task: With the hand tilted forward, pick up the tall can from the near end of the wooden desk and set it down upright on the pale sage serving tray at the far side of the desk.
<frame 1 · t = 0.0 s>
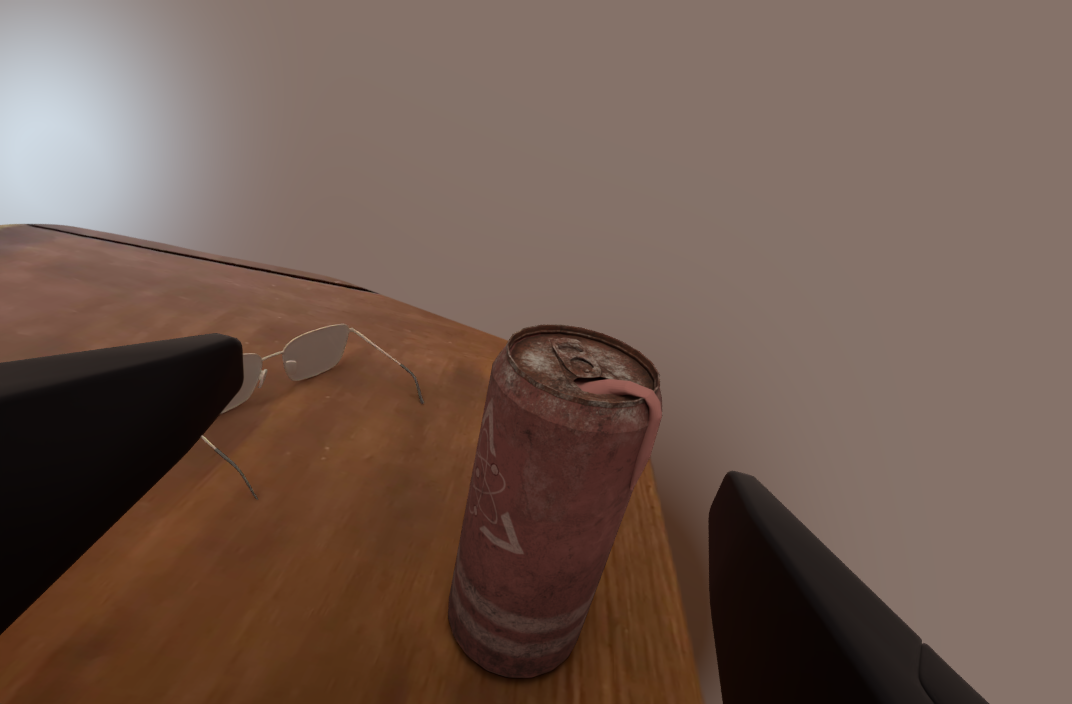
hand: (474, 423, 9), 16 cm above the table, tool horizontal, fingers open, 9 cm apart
eyeglasses: (310, 420, 34), on the table
can: (514, 623, 24), on the table
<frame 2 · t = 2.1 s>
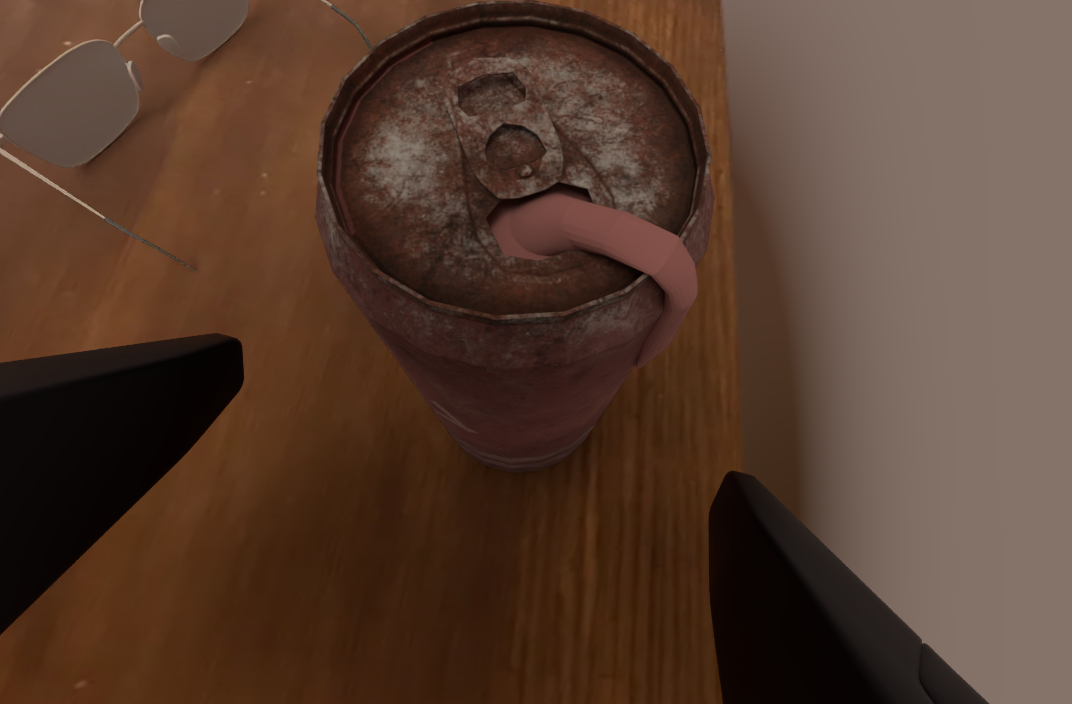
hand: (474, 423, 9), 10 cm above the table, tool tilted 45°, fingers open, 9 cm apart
eyeglasses: (234, 129, 24), on the table
can: (523, 398, 20), on the table
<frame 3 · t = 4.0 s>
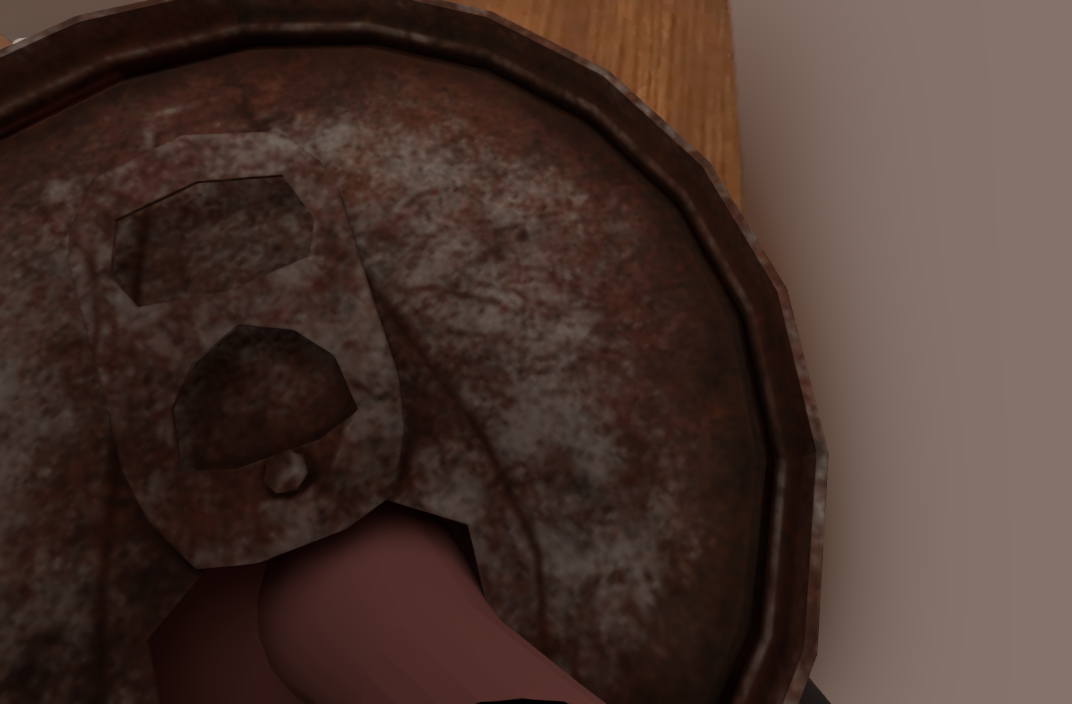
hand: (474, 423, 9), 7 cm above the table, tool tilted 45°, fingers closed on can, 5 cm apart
eyeglasses: (124, 155, 20), on the table
can: (475, 513, 16), on the table, touching gripper
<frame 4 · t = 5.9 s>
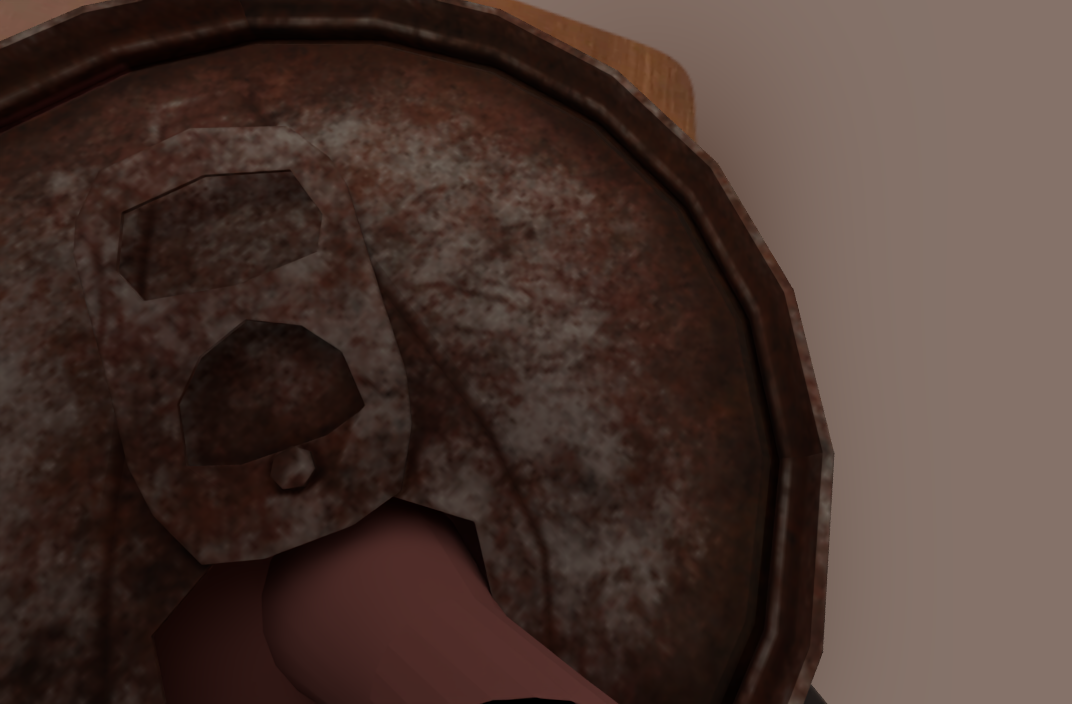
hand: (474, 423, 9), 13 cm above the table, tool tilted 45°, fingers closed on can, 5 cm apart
can: (470, 511, 16), point 6 cm above the table, touching gripper
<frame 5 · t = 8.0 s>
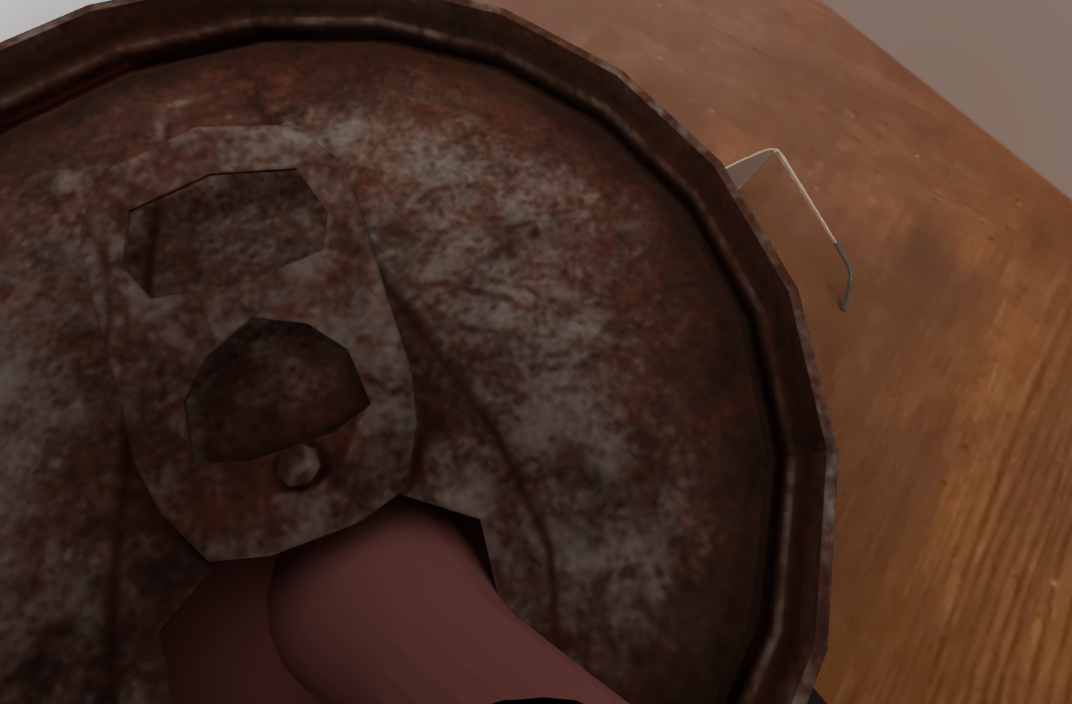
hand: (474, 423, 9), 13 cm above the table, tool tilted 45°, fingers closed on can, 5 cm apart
eyeglasses: (682, 309, 25), on the table
can: (470, 511, 16), point 6 cm above the table, touching gripper
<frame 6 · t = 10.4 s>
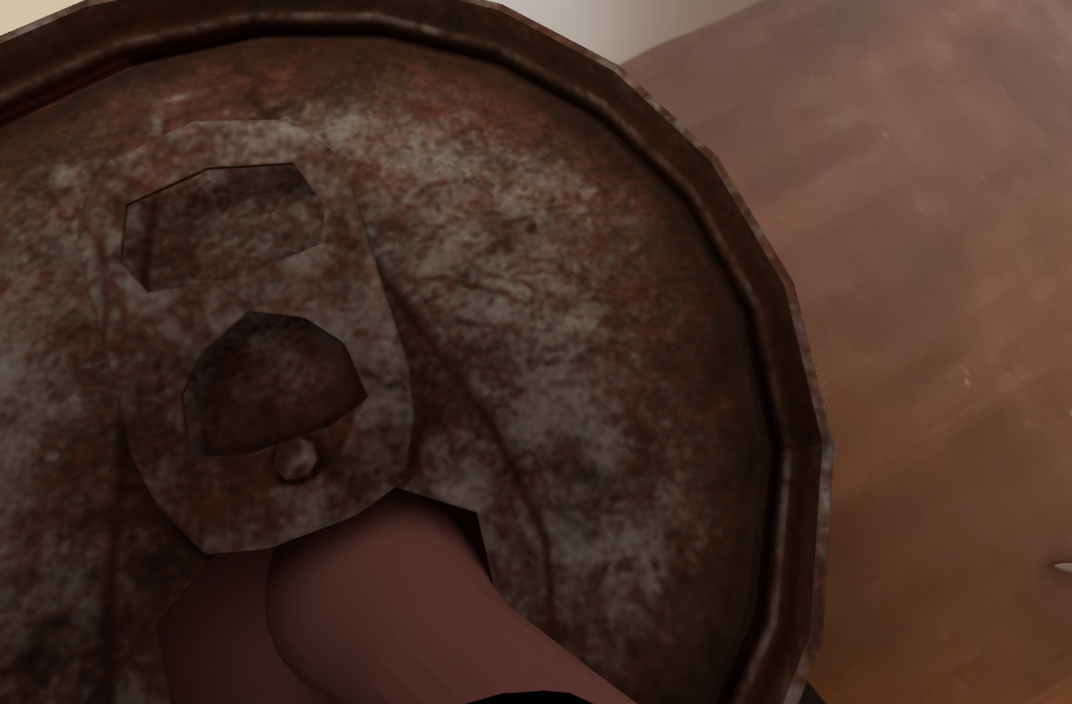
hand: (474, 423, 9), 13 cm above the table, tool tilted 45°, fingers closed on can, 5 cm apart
can: (469, 510, 16), point 5 cm above the table, touching gripper
when the fingers open (8 cm above the table, at t = 12.2 s): can stays where it is, resting on tray.
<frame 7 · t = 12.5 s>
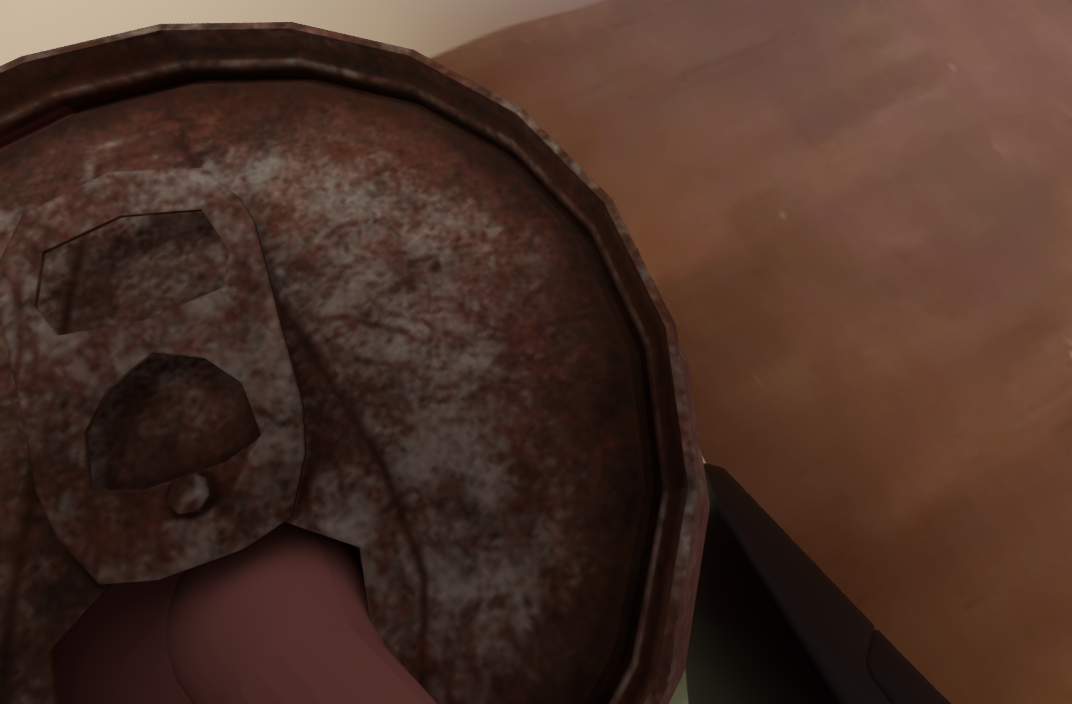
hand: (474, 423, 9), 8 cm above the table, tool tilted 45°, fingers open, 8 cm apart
can: (466, 518, 16), resting on tray
tray: (482, 515, 16), on the table
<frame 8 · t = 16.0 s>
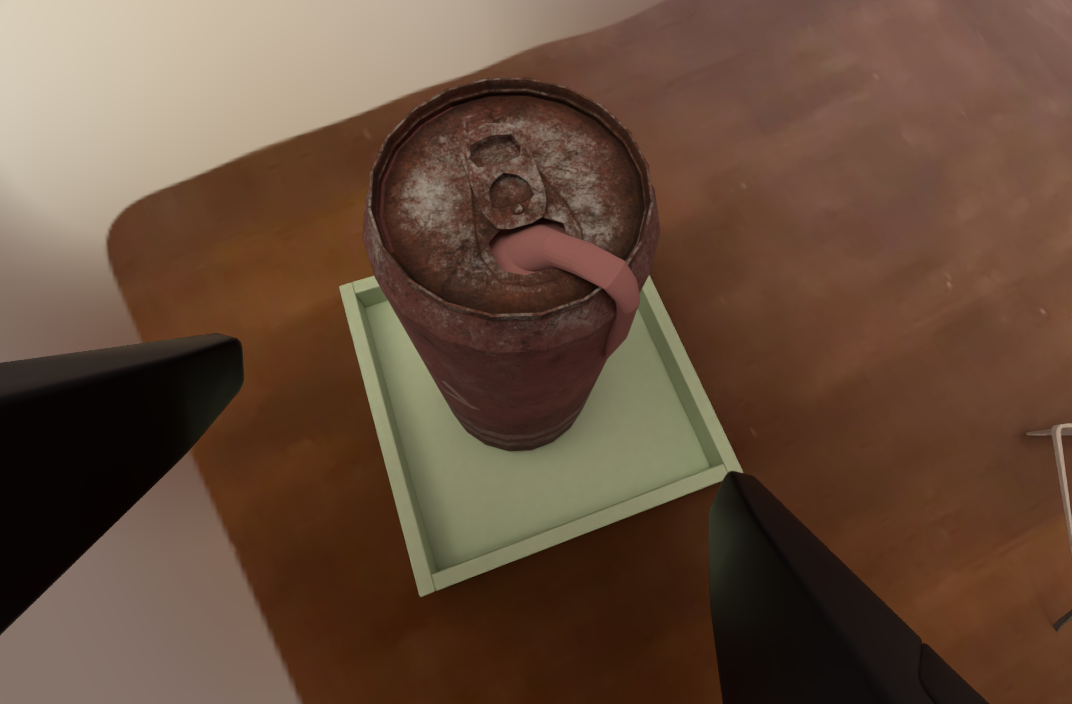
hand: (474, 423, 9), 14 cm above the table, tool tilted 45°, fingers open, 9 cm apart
can: (519, 386, 23), resting on tray
tray: (530, 387, 24), on the table
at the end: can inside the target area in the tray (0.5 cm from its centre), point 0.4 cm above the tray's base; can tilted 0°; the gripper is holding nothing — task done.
